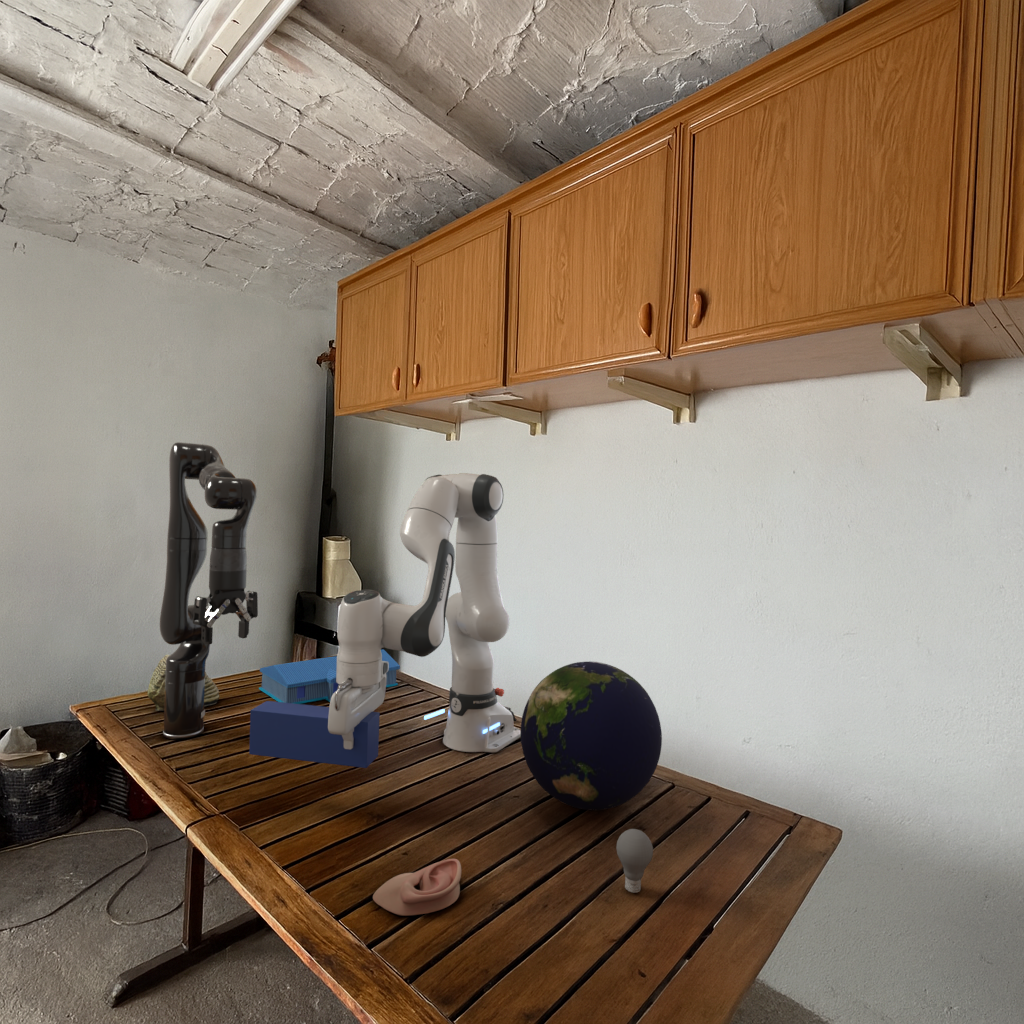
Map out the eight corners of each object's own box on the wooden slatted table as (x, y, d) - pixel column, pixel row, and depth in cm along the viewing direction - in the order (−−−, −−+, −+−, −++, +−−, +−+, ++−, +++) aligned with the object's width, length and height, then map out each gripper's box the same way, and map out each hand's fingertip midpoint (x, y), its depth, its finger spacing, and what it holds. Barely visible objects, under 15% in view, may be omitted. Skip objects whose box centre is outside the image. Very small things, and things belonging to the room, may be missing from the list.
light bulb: (610, 879, 108) (613, 822, 108) (644, 879, 109) (647, 822, 109) (619, 902, 102) (622, 840, 102) (655, 901, 103) (658, 840, 103)
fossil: (144, 707, 182) (145, 655, 182) (212, 696, 194) (213, 647, 194) (151, 716, 175) (153, 662, 175) (221, 703, 188) (223, 653, 188)
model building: (289, 709, 186) (291, 675, 185) (258, 688, 204) (259, 657, 204) (403, 687, 212) (405, 657, 212) (366, 670, 230) (368, 643, 230)
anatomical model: (365, 883, 98) (393, 844, 109) (364, 909, 98) (392, 867, 109) (447, 898, 95) (468, 857, 106) (446, 924, 95) (467, 880, 106)
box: (249, 754, 128) (250, 710, 128) (265, 742, 134) (267, 700, 134) (366, 768, 124) (368, 722, 123) (378, 755, 130) (379, 712, 129)
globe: (495, 817, 128) (501, 670, 127) (544, 763, 155) (549, 641, 155) (643, 855, 116) (651, 693, 116) (668, 789, 144) (674, 658, 144)
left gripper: (208, 571, 132) (205, 649, 132) (266, 567, 144) (264, 638, 144) (187, 568, 136) (184, 643, 136) (245, 564, 148) (243, 633, 148)
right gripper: (352, 689, 116) (350, 763, 116) (392, 660, 136) (390, 724, 137) (320, 686, 117) (318, 760, 117) (364, 658, 137) (362, 721, 138)
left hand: (225, 640), depth 140 cm, fingers open, 8 cm apart
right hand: (357, 740), depth 127 cm, fingers closed on box, 6 cm apart
